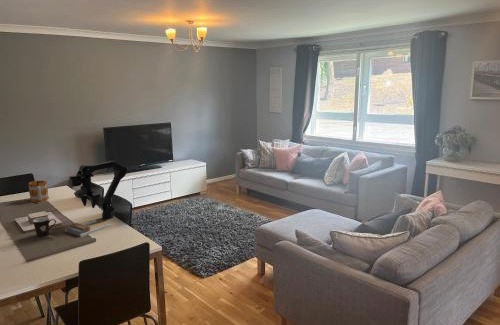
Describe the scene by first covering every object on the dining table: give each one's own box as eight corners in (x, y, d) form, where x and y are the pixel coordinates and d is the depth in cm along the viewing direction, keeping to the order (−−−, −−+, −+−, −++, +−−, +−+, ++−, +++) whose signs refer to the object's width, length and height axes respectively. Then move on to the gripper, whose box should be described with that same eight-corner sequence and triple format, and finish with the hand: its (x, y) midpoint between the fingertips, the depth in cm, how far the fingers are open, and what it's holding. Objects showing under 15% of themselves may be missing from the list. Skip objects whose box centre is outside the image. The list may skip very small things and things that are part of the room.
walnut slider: (77, 228, 237) (76, 222, 237) (90, 232, 230) (89, 226, 229) (71, 230, 234) (70, 224, 233) (84, 234, 226) (83, 228, 226)
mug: (29, 199, 309) (27, 181, 306) (48, 196, 316) (46, 179, 313) (31, 205, 293) (28, 186, 290) (50, 202, 300) (48, 184, 297)
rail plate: (95, 222, 250) (94, 217, 249) (111, 227, 240) (111, 221, 240) (65, 233, 233) (64, 226, 232) (82, 238, 223) (81, 232, 222)
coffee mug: (33, 238, 225) (31, 222, 223) (37, 233, 233) (35, 218, 231) (54, 236, 228) (52, 220, 226) (57, 231, 236) (55, 216, 234)
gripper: (66, 185, 241) (69, 208, 244) (84, 188, 231) (86, 212, 234) (82, 181, 250) (85, 203, 253) (99, 184, 240) (101, 208, 243)
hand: (89, 207), depth 245 cm, fingers open, 9 cm apart
